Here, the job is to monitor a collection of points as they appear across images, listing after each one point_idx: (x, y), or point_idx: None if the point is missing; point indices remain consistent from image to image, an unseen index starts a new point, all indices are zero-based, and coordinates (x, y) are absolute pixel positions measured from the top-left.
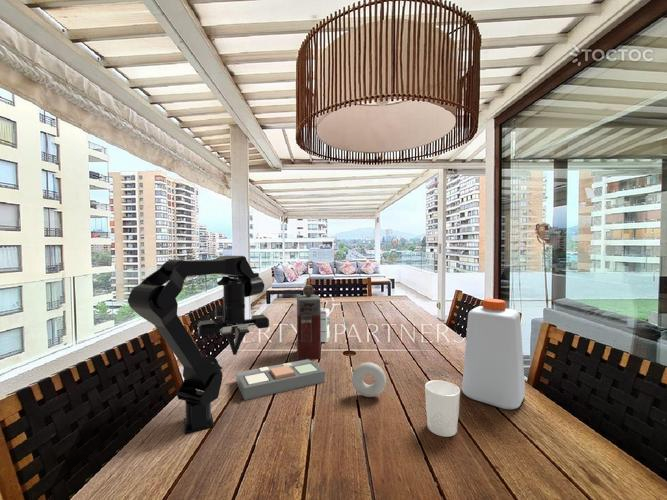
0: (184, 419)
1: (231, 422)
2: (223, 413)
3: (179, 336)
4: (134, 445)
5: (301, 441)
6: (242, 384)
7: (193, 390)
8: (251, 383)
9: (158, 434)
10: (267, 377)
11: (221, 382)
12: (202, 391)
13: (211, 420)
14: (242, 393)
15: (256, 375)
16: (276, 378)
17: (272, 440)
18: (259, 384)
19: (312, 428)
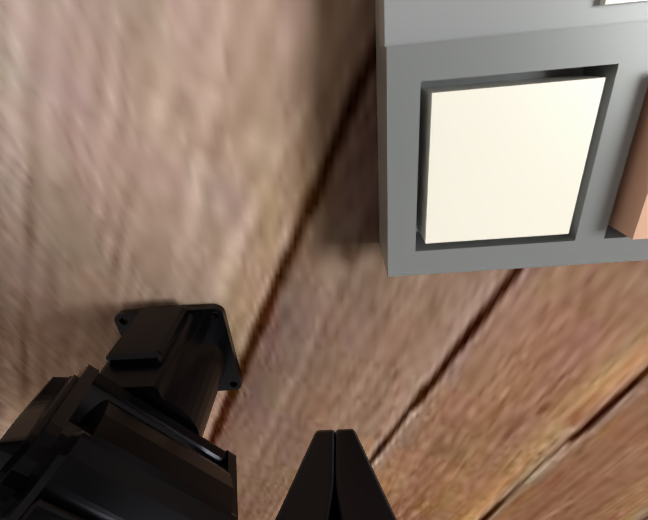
0: (120, 324)
1: (305, 377)
2: (275, 314)
3: None
4: (5, 384)
5: (478, 501)
6: (387, 218)
7: (87, 391)
8: (444, 237)
9: (56, 358)
10: (589, 148)
11: (237, 515)
12: (144, 415)
13: (230, 365)
14: (380, 196)
15: (523, 115)
16: (624, 230)
17: (409, 479)
18: (485, 265)
19: (536, 474)
